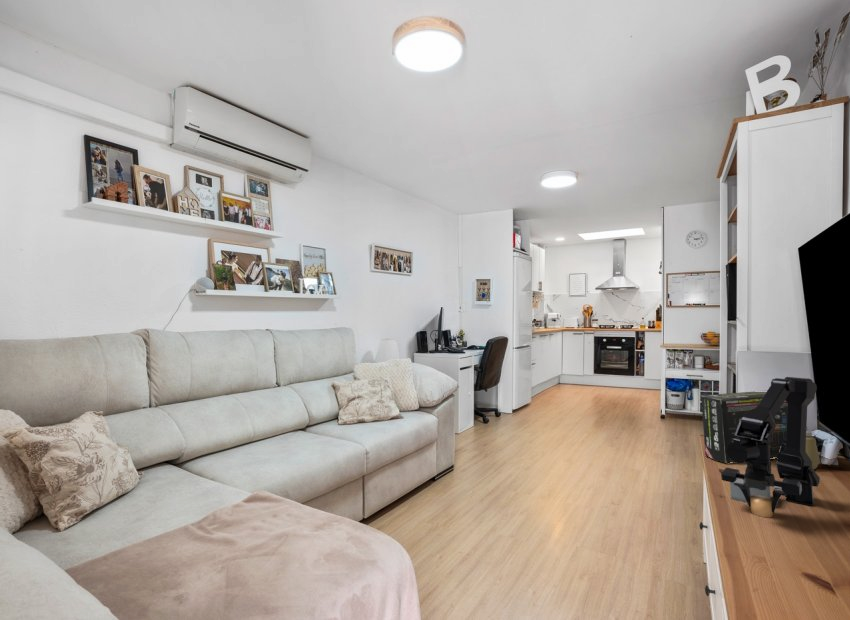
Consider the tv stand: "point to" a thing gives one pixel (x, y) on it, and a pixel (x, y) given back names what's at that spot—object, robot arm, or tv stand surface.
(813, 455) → the squeeze bottle
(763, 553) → the tv stand surface
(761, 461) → the robot arm
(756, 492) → the box
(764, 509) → the tan cylinder grey end
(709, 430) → the router box
